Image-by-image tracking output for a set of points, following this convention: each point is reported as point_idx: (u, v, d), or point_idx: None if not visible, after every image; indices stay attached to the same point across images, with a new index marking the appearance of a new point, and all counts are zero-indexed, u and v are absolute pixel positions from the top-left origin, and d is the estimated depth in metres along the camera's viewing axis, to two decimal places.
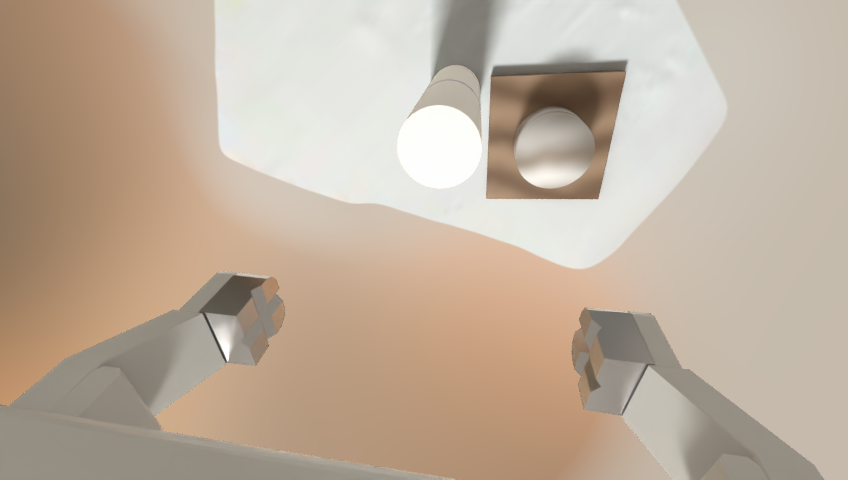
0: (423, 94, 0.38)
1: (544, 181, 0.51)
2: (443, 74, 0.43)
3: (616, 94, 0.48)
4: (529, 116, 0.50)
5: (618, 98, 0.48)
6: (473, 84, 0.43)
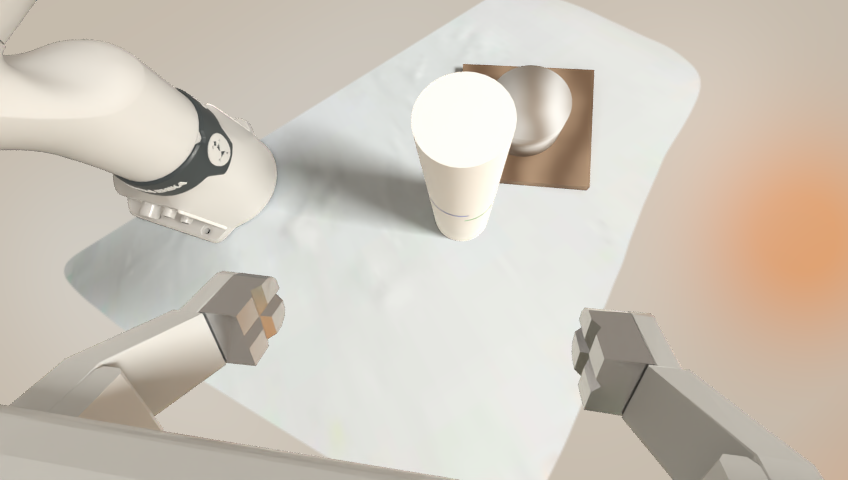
0: (431, 194, 0.34)
1: (562, 110, 0.44)
2: None
3: (482, 68, 0.52)
4: None
5: (485, 66, 0.52)
6: None
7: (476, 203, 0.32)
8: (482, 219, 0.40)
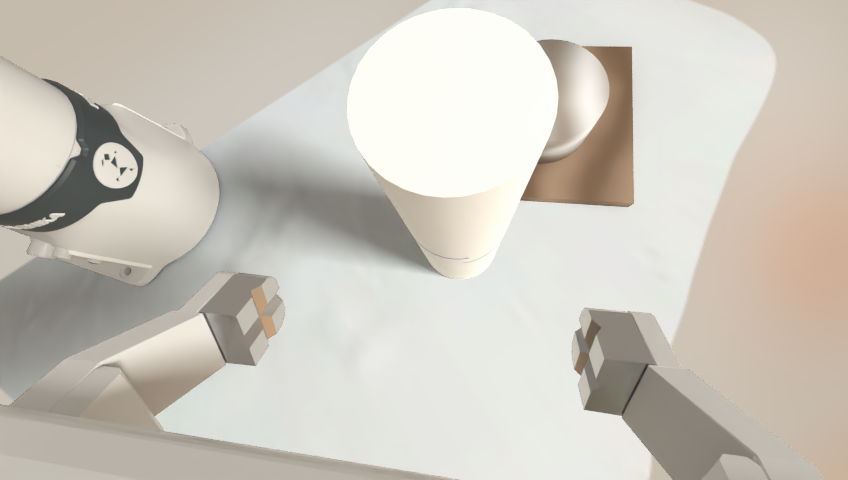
0: (408, 228, 0.22)
1: (596, 98, 0.32)
2: None
3: None
4: None
5: None
6: None
7: (480, 243, 0.20)
8: (489, 257, 0.28)
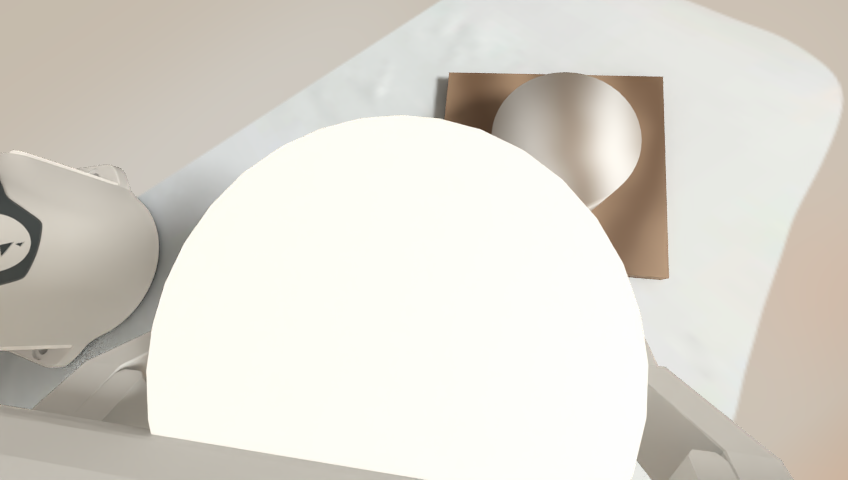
0: None
1: (624, 150, 0.25)
2: None
3: (479, 78, 0.32)
4: None
5: (485, 75, 0.32)
6: None
7: None
8: None
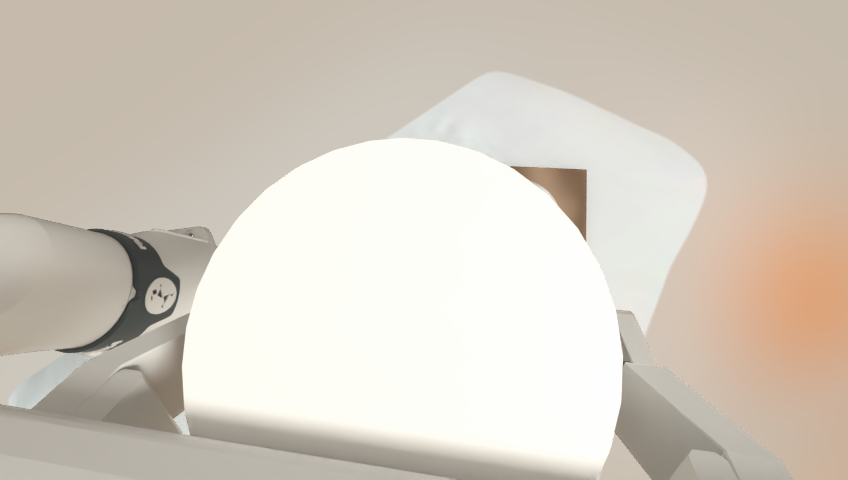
0: None
1: None
2: None
3: None
4: None
5: None
6: None
7: None
8: None
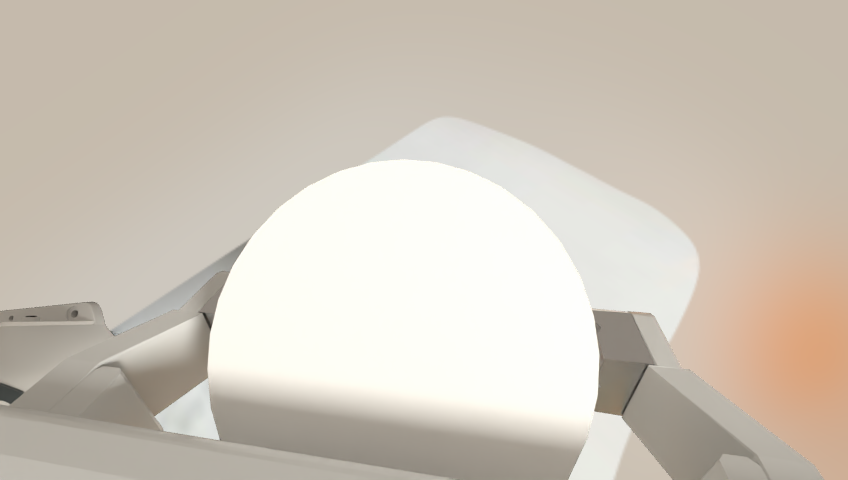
0: None
1: None
2: None
3: None
4: None
5: None
6: None
7: None
8: None
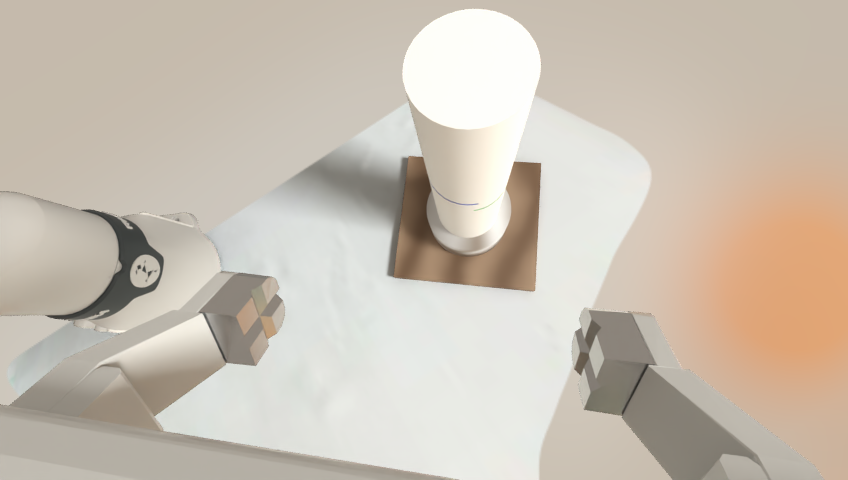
0: (432, 177, 0.28)
1: (501, 217, 0.43)
2: None
3: None
4: (435, 238, 0.47)
5: None
6: None
7: (488, 185, 0.26)
8: (493, 209, 0.34)
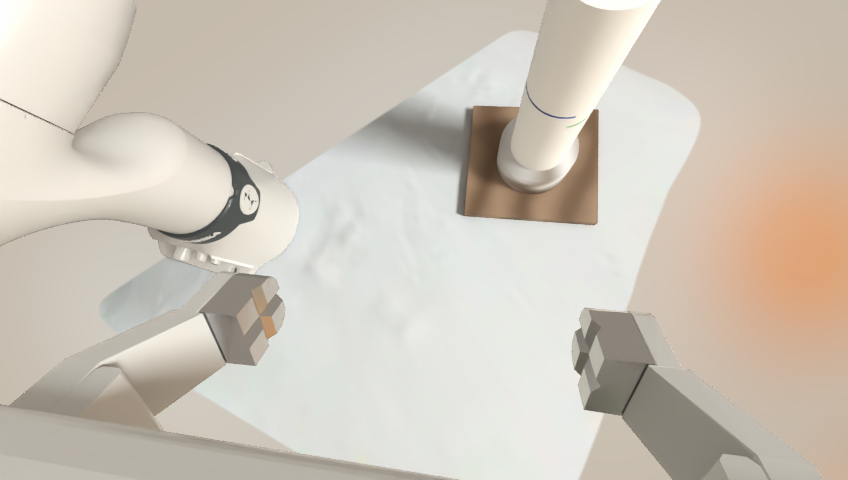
0: (541, 89, 0.32)
1: (569, 152, 0.47)
2: (519, 119, 0.40)
3: (491, 109, 0.55)
4: (503, 178, 0.51)
5: (495, 107, 0.55)
6: None
7: (595, 90, 0.31)
8: (578, 131, 0.39)
